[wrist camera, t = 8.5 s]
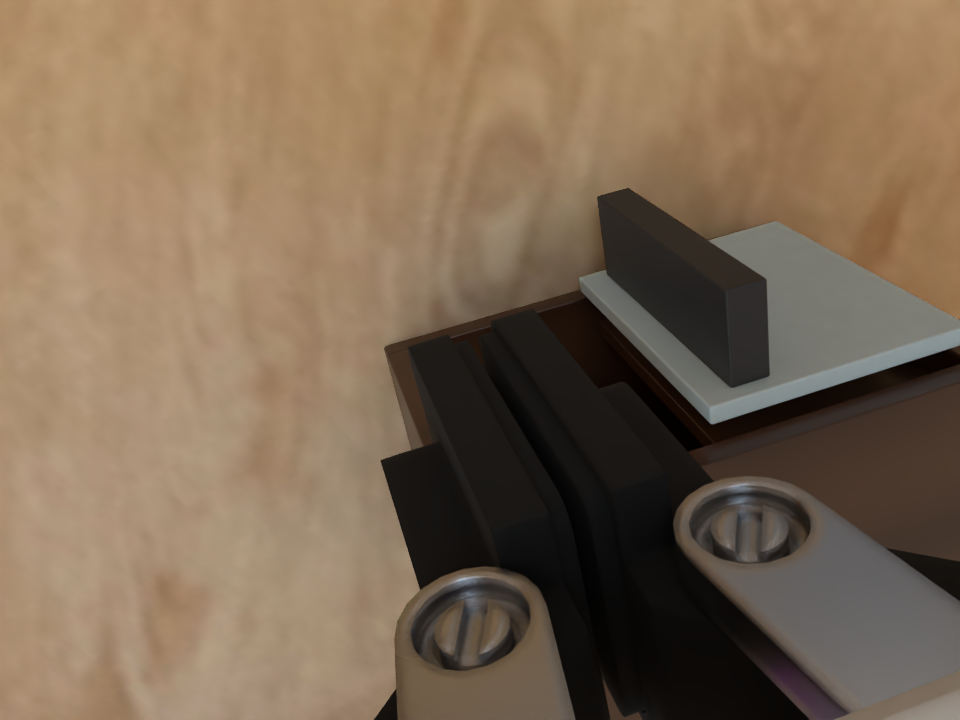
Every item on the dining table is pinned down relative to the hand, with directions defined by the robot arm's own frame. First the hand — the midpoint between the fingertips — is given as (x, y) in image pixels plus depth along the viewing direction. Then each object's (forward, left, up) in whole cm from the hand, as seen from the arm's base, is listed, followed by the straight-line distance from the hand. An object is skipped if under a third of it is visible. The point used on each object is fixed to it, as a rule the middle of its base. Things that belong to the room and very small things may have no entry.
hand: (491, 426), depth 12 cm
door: (-11, +6, -19) cm, 23 cm away
